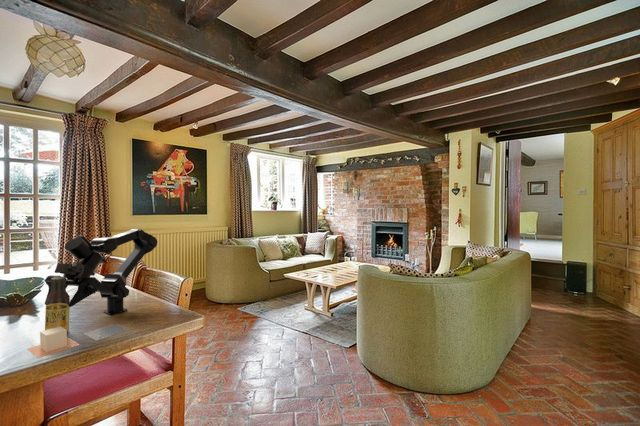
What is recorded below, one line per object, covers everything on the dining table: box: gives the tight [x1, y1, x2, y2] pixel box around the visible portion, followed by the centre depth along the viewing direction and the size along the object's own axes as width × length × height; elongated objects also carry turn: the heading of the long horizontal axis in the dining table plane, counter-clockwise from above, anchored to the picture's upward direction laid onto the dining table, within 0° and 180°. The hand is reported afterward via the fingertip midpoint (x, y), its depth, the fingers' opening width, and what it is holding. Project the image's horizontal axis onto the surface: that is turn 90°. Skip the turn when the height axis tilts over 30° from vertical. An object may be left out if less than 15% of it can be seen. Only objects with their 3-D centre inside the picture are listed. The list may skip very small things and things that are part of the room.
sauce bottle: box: [44, 276, 71, 335], centre depth 104 cm, size 6×6×20 cm
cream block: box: [39, 326, 68, 352], centre depth 95 cm, size 5×5×5 cm
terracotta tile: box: [26, 336, 81, 359], centre depth 95 cm, size 10×10×1 cm
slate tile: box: [82, 323, 130, 342], centre depth 106 cm, size 10×10×1 cm
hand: (57, 305), depth 104 cm, fingers open, 9 cm apart
